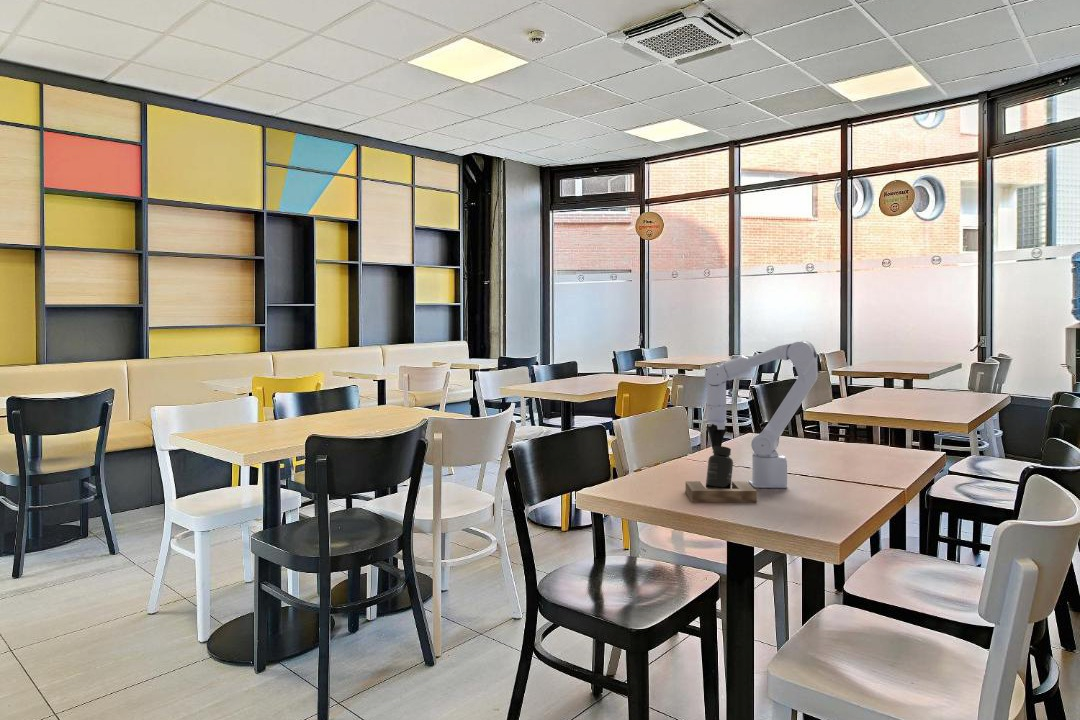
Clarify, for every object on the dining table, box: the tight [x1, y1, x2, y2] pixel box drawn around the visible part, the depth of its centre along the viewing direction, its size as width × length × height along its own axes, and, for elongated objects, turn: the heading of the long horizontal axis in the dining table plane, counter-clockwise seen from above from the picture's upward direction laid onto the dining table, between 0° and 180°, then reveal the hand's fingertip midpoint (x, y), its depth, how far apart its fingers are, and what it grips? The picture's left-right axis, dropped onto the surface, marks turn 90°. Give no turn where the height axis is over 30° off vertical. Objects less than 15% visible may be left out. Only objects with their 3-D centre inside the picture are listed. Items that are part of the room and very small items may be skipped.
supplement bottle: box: [705, 445, 734, 489], centre depth 197 cm, size 7×7×12 cm
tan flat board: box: [685, 480, 758, 503], centre depth 192 cm, size 17×12×3 cm
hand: (716, 449), depth 211 cm, fingers closed
